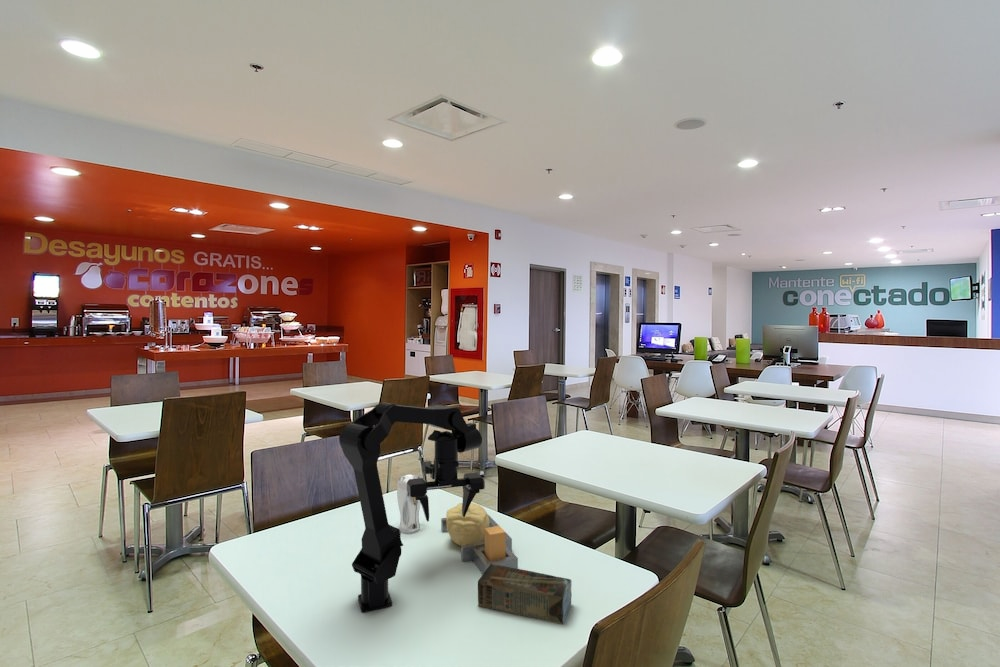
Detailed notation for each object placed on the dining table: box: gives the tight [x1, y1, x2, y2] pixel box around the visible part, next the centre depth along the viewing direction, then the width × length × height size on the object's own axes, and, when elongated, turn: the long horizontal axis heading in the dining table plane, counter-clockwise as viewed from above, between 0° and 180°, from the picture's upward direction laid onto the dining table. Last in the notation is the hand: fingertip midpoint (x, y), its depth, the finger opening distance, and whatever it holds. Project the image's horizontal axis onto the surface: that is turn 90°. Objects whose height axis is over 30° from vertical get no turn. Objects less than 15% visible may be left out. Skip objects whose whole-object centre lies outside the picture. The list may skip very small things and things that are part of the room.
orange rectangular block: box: [484, 525, 506, 561], centre depth 125 cm, size 4×4×9 cm
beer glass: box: [396, 474, 422, 534], centre depth 146 cm, size 7×7×15 cm
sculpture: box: [445, 502, 490, 547], centre depth 138 cm, size 12×12×11 cm
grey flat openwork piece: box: [440, 514, 519, 575], centre depth 134 cm, size 29×14×4 cm, turn 22°
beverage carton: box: [477, 564, 572, 625], centre depth 108 cm, size 8×19×7 cm, turn 70°
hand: (445, 518), depth 125 cm, fingers open, 9 cm apart
